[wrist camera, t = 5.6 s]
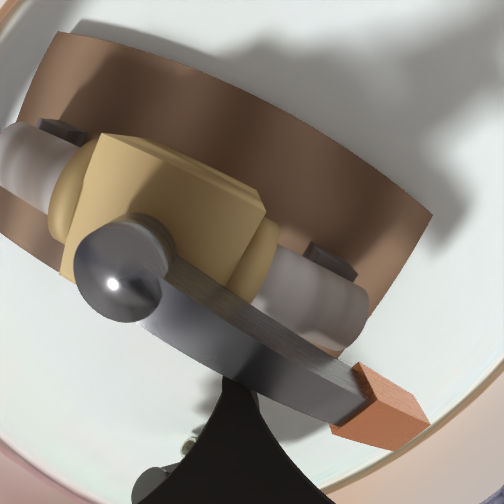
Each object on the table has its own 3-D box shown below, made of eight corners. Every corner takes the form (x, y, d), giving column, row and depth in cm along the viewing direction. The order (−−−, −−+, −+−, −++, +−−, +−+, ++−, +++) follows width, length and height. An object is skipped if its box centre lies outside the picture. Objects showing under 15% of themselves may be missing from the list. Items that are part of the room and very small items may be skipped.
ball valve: (2, 222, 15) (-66, 256, 8) (66, 36, 11) (-2, 2, 4) (311, 374, 20) (334, 454, 13) (422, 210, 16) (503, 246, 9)
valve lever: (91, 259, 8) (58, 287, 6) (127, 194, 8) (93, 208, 6) (378, 423, 12) (391, 453, 10) (416, 392, 11) (434, 421, 9)
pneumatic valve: (180, 407, 21) (160, 536, 9) (266, 458, 24) (275, 556, 13) (142, 425, 22) (115, 532, 10) (226, 472, 25) (226, 561, 14)
